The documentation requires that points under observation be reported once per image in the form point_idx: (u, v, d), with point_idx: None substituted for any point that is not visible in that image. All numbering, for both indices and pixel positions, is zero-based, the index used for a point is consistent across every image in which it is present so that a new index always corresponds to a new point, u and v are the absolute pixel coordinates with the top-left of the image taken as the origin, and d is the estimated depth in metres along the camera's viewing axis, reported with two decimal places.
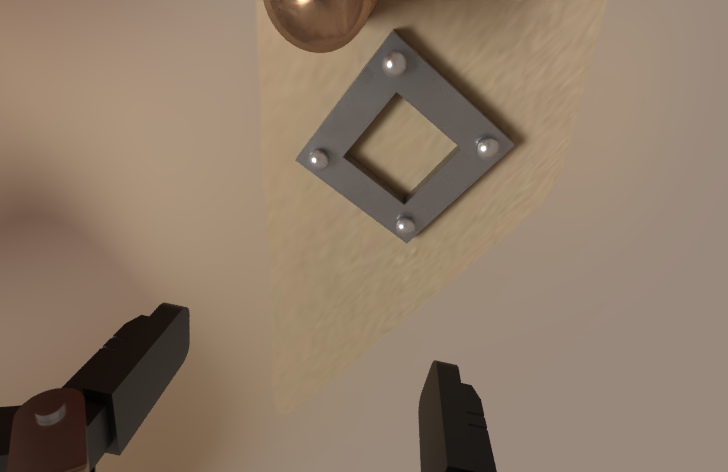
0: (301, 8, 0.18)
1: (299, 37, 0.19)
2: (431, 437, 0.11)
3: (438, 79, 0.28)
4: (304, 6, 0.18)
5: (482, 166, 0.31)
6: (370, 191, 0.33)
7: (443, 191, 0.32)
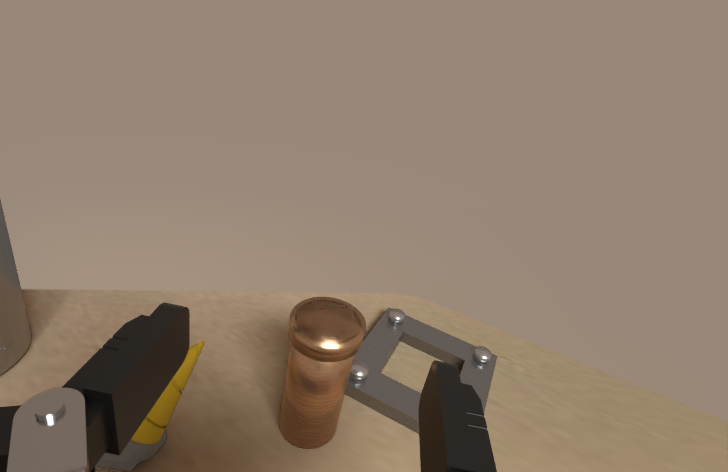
0: (339, 327, 0.26)
1: (358, 329, 0.26)
2: (431, 437, 0.11)
3: (361, 348, 0.37)
4: (338, 325, 0.26)
5: (409, 320, 0.42)
6: (468, 384, 0.36)
7: (439, 338, 0.41)
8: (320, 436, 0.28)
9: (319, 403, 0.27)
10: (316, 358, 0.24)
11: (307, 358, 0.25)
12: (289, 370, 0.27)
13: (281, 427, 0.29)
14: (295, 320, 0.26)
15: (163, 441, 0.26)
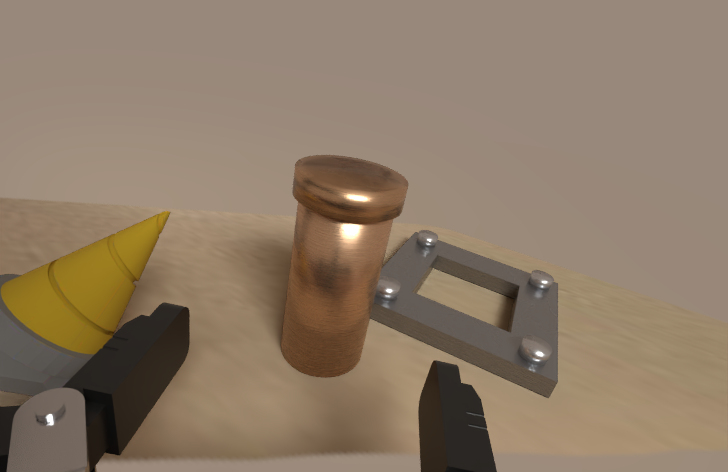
0: (370, 179, 0.17)
1: (397, 184, 0.17)
2: (431, 437, 0.11)
3: (386, 268, 0.28)
4: (367, 178, 0.17)
5: (443, 244, 0.34)
6: (529, 309, 0.27)
7: (483, 263, 0.32)
8: (341, 357, 0.20)
9: (340, 300, 0.18)
10: (337, 215, 0.16)
11: (323, 221, 0.16)
12: (295, 254, 0.18)
13: (284, 349, 0.21)
14: (303, 168, 0.17)
15: None
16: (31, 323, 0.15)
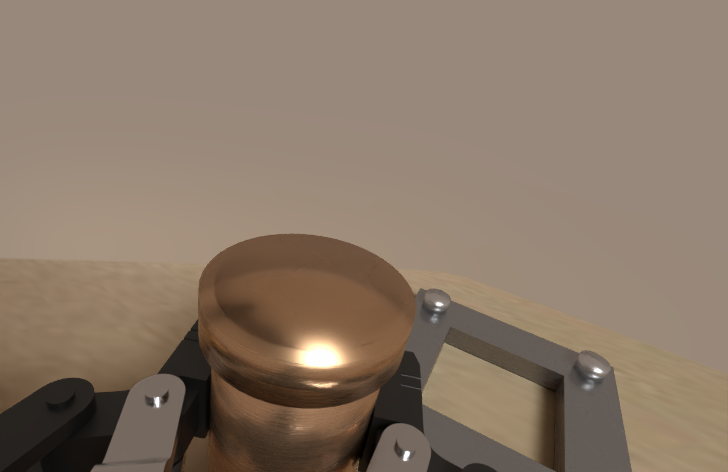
0: (344, 303, 0.09)
1: (396, 310, 0.09)
2: None
3: None
4: (339, 298, 0.09)
5: (457, 308, 0.26)
6: (584, 422, 0.19)
7: (511, 336, 0.24)
8: None
9: None
10: (272, 398, 0.08)
11: (248, 396, 0.08)
12: (211, 421, 0.10)
13: None
14: (215, 284, 0.09)
15: None
16: None
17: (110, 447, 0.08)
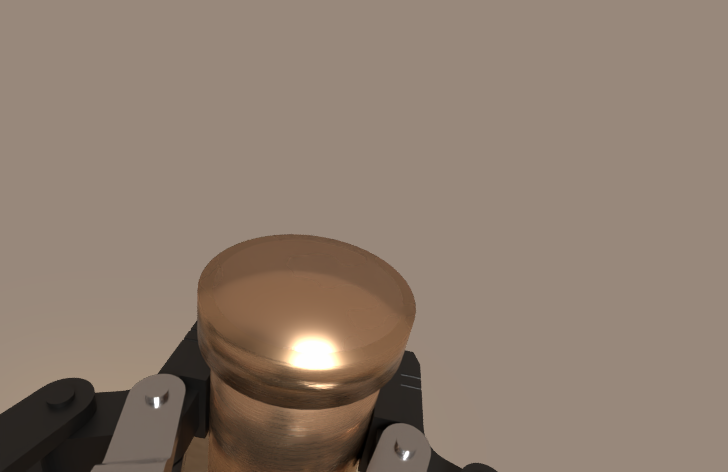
0: (343, 303, 0.09)
1: (396, 310, 0.09)
2: None
3: None
4: (339, 299, 0.09)
5: None
6: None
7: None
8: None
9: None
10: (271, 399, 0.08)
11: (247, 397, 0.08)
12: (210, 422, 0.10)
13: None
14: (214, 285, 0.09)
15: None
16: None
17: (110, 448, 0.08)
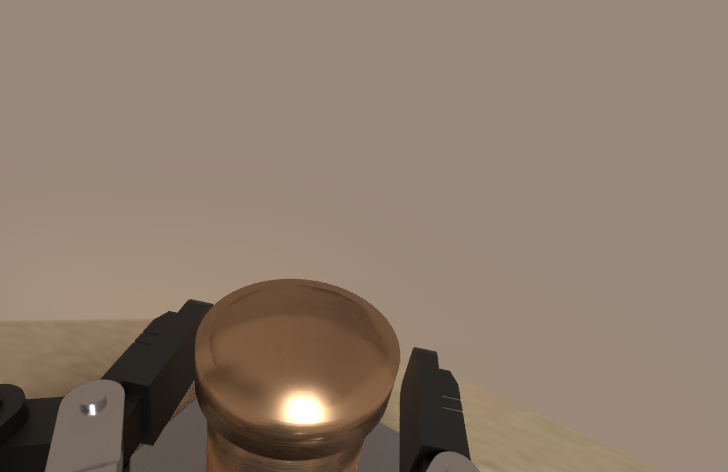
0: (331, 355, 0.10)
1: (381, 360, 0.10)
2: (409, 420, 0.11)
3: None
4: (327, 350, 0.10)
5: None
6: None
7: None
8: None
9: None
10: (263, 451, 0.08)
11: None
12: (207, 462, 0.11)
13: None
14: (210, 338, 0.09)
15: None
16: None
17: (49, 463, 0.08)
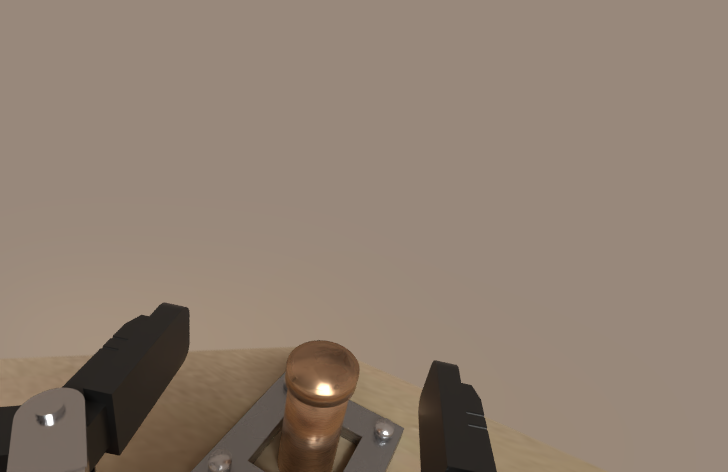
0: (334, 372, 0.27)
1: (352, 374, 0.27)
2: (431, 437, 0.11)
3: (236, 428, 0.32)
4: (332, 371, 0.27)
5: None
6: (357, 471, 0.30)
7: None
8: None
9: (316, 445, 0.28)
10: (312, 405, 0.26)
11: (304, 404, 0.26)
12: (287, 413, 0.28)
13: (280, 466, 0.30)
14: (291, 367, 0.27)
15: None
16: None
17: None
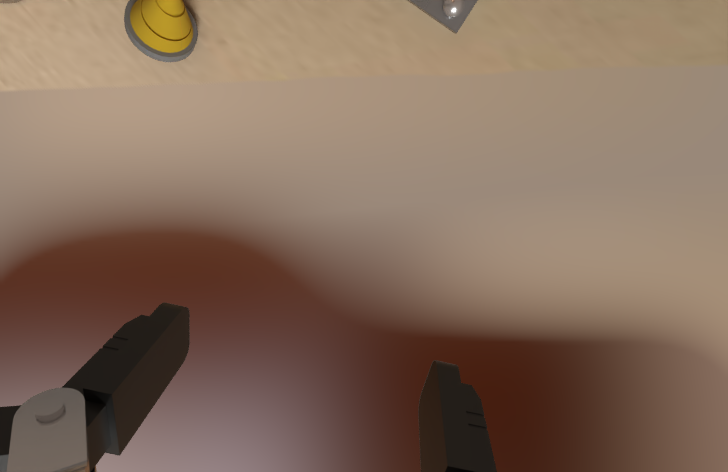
0: None
1: None
2: (431, 437, 0.11)
3: None
4: None
5: None
6: None
7: None
8: None
9: None
10: None
11: None
12: None
13: None
14: None
15: (196, 35, 0.34)
16: (161, 50, 0.32)
17: None
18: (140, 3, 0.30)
